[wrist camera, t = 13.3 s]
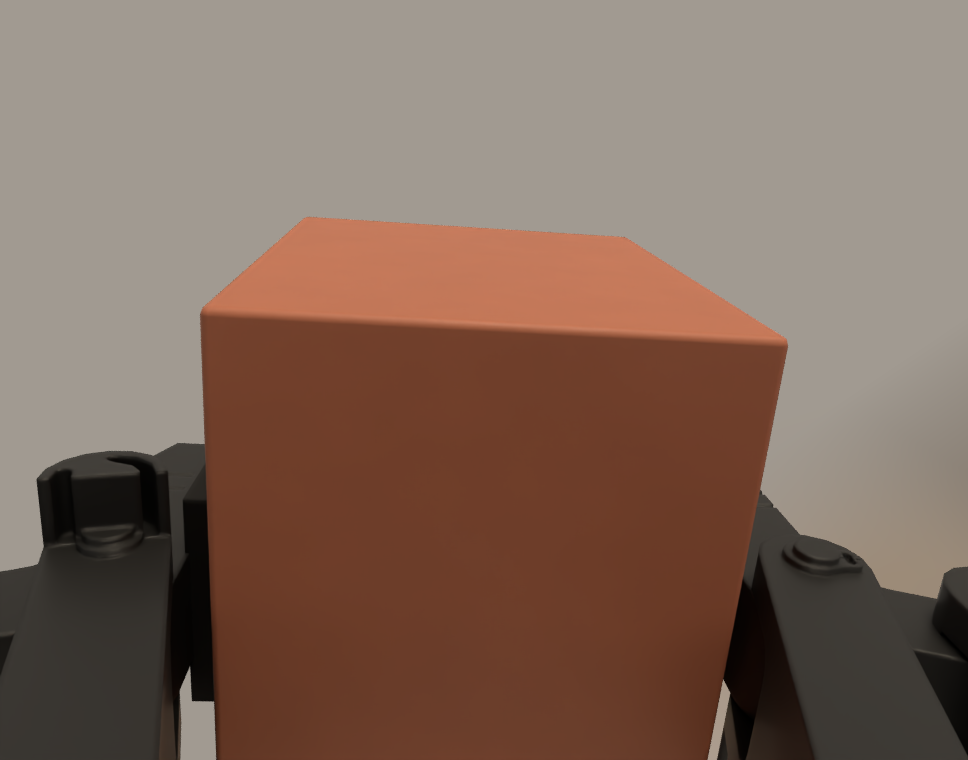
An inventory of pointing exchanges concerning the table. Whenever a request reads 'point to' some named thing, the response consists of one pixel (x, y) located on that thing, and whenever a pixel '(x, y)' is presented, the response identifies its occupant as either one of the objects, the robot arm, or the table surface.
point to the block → (476, 495)
